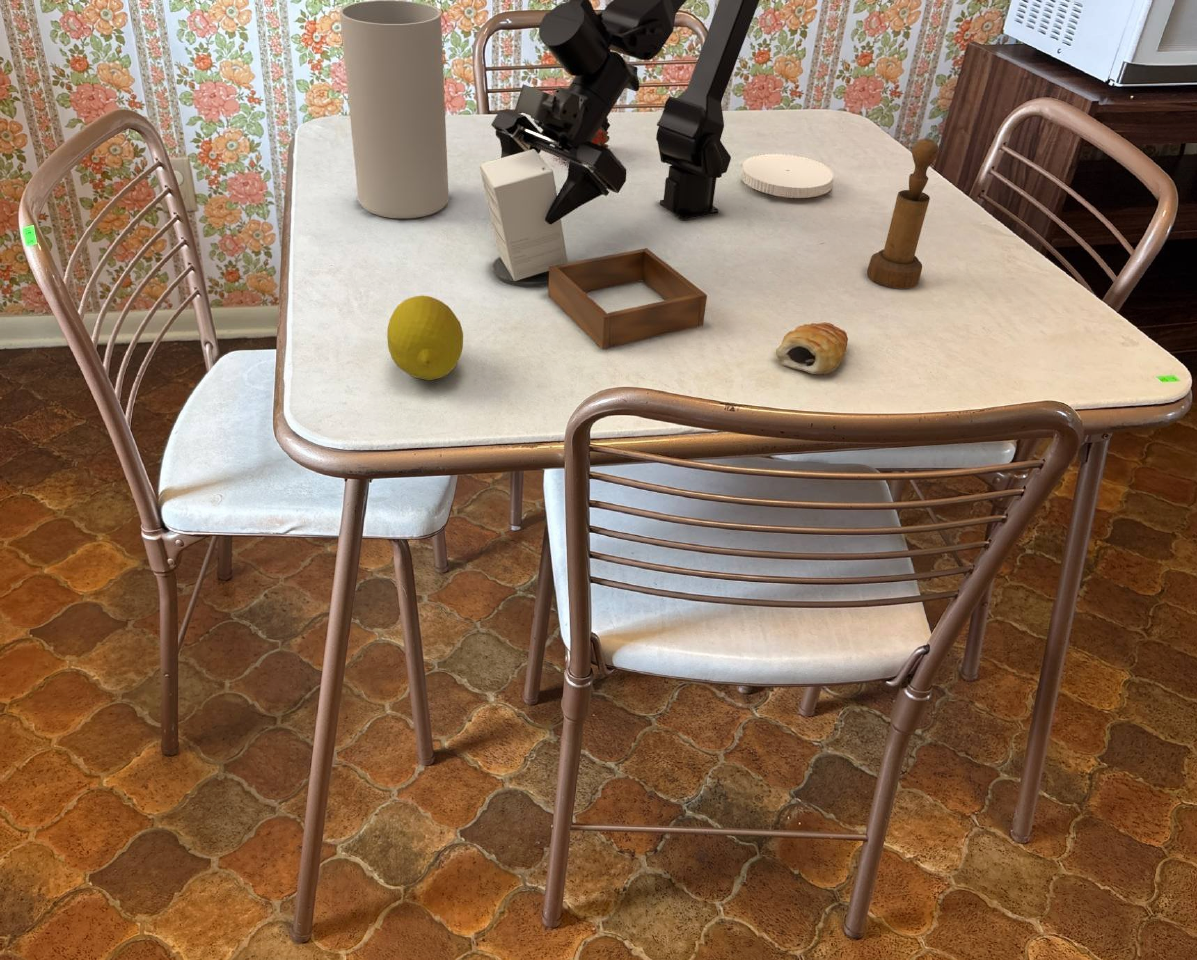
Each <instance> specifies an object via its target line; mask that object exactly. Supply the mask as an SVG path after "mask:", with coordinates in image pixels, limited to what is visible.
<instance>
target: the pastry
mask: <svg viewBox="0 0 1197 960" xmlns="http://www.w3.org/2000/svg"><path fill="white" fill-rule="evenodd" d="M848 341H849V338H848V334H847V332H846V331H845V330H843V329H841V328H840V327H838V326H835V325H834V324H833V323H830V322H819V323H815V322H812V323H810V324H807V323H804V324H802V325H798V326H797V327H795V329H794V330H791V331H789V332H788V333H786V334H785V335H784V337H783V338H782V341H781V344H780V345H779V347H778V348H776V349H775V356H776V357H777V359H778V363H779V364H780V365H782V366H784V367H788V368H790V369H793V370H798V371H804V372H806V373H808V374H812V375H827V374H830V373H833V372H834V371H835V370H836V369H837V368H838V367H839V365H840V364H841V362H842V360H843V359H844V358H845V355H846V352H847V348H848Z"/></svg>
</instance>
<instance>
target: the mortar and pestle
mask: <svg viewBox="0 0 1197 960" xmlns="http://www.w3.org/2000/svg"><path fill="white" fill-rule="evenodd" d="M939 150H940V149H939V145H938V142H937V141H935V140H934V139H932V138H928V137H925V138H924V137H923V138H920V139H919V140H918V141H916V142H915V144H914V145H913V147H912V150H911V154H912V160H913V163H914V171H913V172H912V173H910V174H909V176H908V189H902V190H900V191H898V192H897V194H896V195H897V196H896V199H895V204H894V207H893V208H894V209H893V212H892V217H891V221H890V225H889V228H888V232H887V236H886V240H885V244H884V248H883V249H881V250H879V251H877V252H875V253H873V254H872V255H871V256H870V260H869V263H868V267H867V271H866V272H867V276H868V278H869V279H870V280H871V281H873V282H875V283H877V284H879V285H881V286H884V287H889V288H893V289H910V288H913V287H916V286H917V285H918V284H919V283H920V279H921V274H922V270H923V263H922V262H921V261H920V260H919V258H918V257H917V256H916V253H917V252H916V251H917V247H918V244H919V241H920V236H921V232H922V229H923V225H924V221H925V217H926V214H927V211H928V208H929V204H930V200H931V197H930V195H929V194H928V193H925V192H923V191H924V189H925V188H926V185H928V181H929V177H928V175H927V172H928V169H929V167H930V166H931V165H932V164H933V163H934V162H935V160H936V159H937V157H938V155H939V152H940V151H939Z"/></svg>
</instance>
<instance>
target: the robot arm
mask: <svg viewBox="0 0 1197 960" xmlns="http://www.w3.org/2000/svg"><path fill="white" fill-rule="evenodd" d="M687 1H688V0H611V1H610V2H609V3H608V4H607V6H606V7H605V8H604V10H602V11H599V12H596V11H595V9H594V7H593V4H592V2H591V0H569V1H566V2H562V3H560V4H558V5H557V6H555V7H554V8H552V9H551V10H550V11H549V12H546V13H545V15H544V16H543V17H542V20H541V21H540V24H539V28H538V36H539V39H540V41H541V42H542V43H543V45H544V46H545V47H546V48H547V50H548V51H549V52H550V53H551V55H552V56H553V58H555V60H556V62H558V64H559V65H560V66H561V67H562V69H563V70H564V71H565V72H566V73H567V74H568V75H570V76H574V77H573V79H572V81H571V83H570V84H569V86H568V88H564V87H561V86H560V87H558V88H556V89H555V91H554V93H553V94H551V93H548V92H547V91H544V90H540V89H537V88H534V87H532V86H530V85H527V84H524V83H523V84H522V86H521V88H520V92H519V95H518V98H517V101H516V105H515V108H514V110H511V109H509V108H504V109H502V110H499V111H498V112H497V114H496V116H495V117H494V119H493V120H492V122H491V124H490V126H491V127H492V128H493V129H495V136H496V138H497V139H498V140H499V142H500V143H499V144H500V148H501V155H500V158H503V157H507V156H511V155H515V154H518V153H522V152H525V151H529V150H532V149H535V150H536V152H537V153H538V154H539V155H540V153H541V151H543V152H545V153H548V154H550V155H552V156H555V157H557V158H559V159H562V160H565V161H567V162H568V169H567V177H566V180H565V182H564V183H563V185H562V187H561V188H560V190H559V191H558V193H557V197H556V198H555V200H554V202H553V204H552V205H551V207H550V209H549V211H548V213H547V215H546V218H545V221H546V222H547V223H548V224H550V225H551V224H553V223H555V222H556V221H558V220H559V219H561V220H562V218H564V217H566V216H567V215H569V214H570V213H572V212H574V211H575V210H577V209H579V208H580V207H582V206H583V205H585V204H587V203H589V202H591V201H593V200H595V199H597V198H599V197H600V196H605V197H606V196H607V197H608V195H609V194H610V191H611V192H614V193H616V194H619V193H620V191H621V189H622V188H623V186H624V185H625V184H626V182H627V168H626V167H625V165H623V163H622V162H621V161H620V160H619V158H618V157H617V156H616V155H615V154H614V153H613V151H612V150H611V149H610V148H609V147H608V148H605V147H603V146H600V145H598V144H595V143H593V142H592V141H593V139H594V137H595V136H596V134H597V133H598V131H599V130H602V131H604V132H607V131H608V130H609V129H610V127H611V124H610V122H609V120H608V121H607V120H606V118H608V116H609V115H610V113H611V112H612V110H613V108H614V107H615V105H616V103H617V102H618V100H619V99H620V97H621V96H622V94H623V93H624V91H625V89H628V90H630V91H633V92H638V91H639V90H640V80H639V76H638V70H639V69H638V67H637V66H635V65H633V64H630V63H627V61H626V60H625V59H624V57H623V56H622V55H625V56H628V57H631V58H634V59H637V60H641V61H651V60H653V59H654V58H655V57H656V56H657V55H658V54H659V53H660V52H661V51H662V49H663V47H664V46H665V44H666V43H667V42H668V39H669V38H670V37H671V35H672V34H673V32H674V28H675V23H676V16H677V13H678V12H679V10H680V9H681V7H682V6H683V5H684V4H685V3H686V2H687ZM759 3H760V0H718V3H717V6H716V8H715V11H714V14H713V17H712V19H711V21H710V25H709V27H708V30H707V33H706V36H705V38H704V41H703V43H702V46H701V48H700V49H701V50H700V52H699V55H698V57H697V59H696V62H695V66H694V69H693V71H692V74H691V76H690V79H689V82H688V85H687V88H686V89H684V91H682V93H680V95H678V96H677V97H674V96H671V95H670V96H669V97H668V98H667V99H666V100H665V104H664V107H663V110H662V113H661V116H660V118H659V120H658V121H657V123H656V126H657V127H658V128H657V131H656V137H655V139H656V141H657V146H658V153H659V158H660V162H661V163H663V164H667V165H669V166H668V175H667V177H666V178H665V179H664V180H665V181H664V192H663V199H660V200H659V205H660V206H661V207H663V208H665V210H667V211H669V212H670V213H672V214H673V215H674V216H676V217H677V218H678V219H680V220H682V221H683V220H690V219H695V218H701V217H706V216H707V217H708V216H712V215H718V214H719V211H720V209H719V208H717V207H716V206H715V205H714V200H715V192H716V186H717V179H720V178H722V176H723V174H726V173H727V172H728V169H729V166H730V163H731V160H732V157H731V155H730V154H729V152H728V151H727V148H726V147H725V145H724V144H723V143H722V141H721V139H722V135H723V132H724V128H725V120H724V114H723V107H722V106H723V105H722V101H723V98H724V95H725V93H726V90H727V87H728V85H729V82H730V80H731V77H732V74H733V72H734V69H735V66H736V64H737V61H738V58H739V57H740V54H741V50H742V48H743V45H744V43H745V40H746V38H747V35H748V33H749V29H750V27H751V24H752V22H753V19H754V16H755V14H756V11H757V8H758V6H759ZM621 54H622V55H621ZM524 114H525V115H524ZM527 116H530V118H531V119H533V122H532V121H531V120H530V118H528V117H527ZM535 125H536V126H537V127H538V128H540V129H541V130H542V131H540V130H539V129H538V128H537V127H536V126H535Z"/></svg>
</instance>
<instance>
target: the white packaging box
mask: <svg viewBox="0 0 1197 960" xmlns="http://www.w3.org/2000/svg"><path fill="white" fill-rule="evenodd" d="M478 166H479V172H480V175H481V179H482V180H481V181H482V184H483V189H484V193H485V197H486V202H487V208H488V211H489V216H490V222H491V226H492V230H493V237H494V241H495V245H496V246H495V247H496V250H497V253H498V256H499V257H500V258H501V259H502V261H503V263H504V264H505V266H506V268H507V269H508V271H509V273H510V274H511V276H512V277H513V279H514V281H517V280H520V279H523V278H526V277H530V276H533V275H536V274H540V273H543V272H546V271H549V266H554V265H560V264H565V263H569V260H568V254H567V249H566V241H565V236H564V229H563V224H562V218H561V219H559V220H558V221H556V222H555V223H553V224H551V225H550V224H548V223H547V222H546V221H545V218H546V215H547V213H548V211H549V209H550V207H551V205H552V204H553V202H554V200H555V198H556V197H557V195H558V193H557V192H558V191H557V187H556V179H555V175H554V170H552V168H551V167H550V166H549V165H548V163H547V162H546V161H545V160H544V159H543V157H542V156H541V155H540V153H539V154H538V153H537V152H536V150H535V149H532V150H529V151H525V152H522V153H518V154H515V155H511V156H507V157H503V158H501V157H500V158H497V159H492V160H490V161H485V162H482V163H479V164H478Z"/></svg>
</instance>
